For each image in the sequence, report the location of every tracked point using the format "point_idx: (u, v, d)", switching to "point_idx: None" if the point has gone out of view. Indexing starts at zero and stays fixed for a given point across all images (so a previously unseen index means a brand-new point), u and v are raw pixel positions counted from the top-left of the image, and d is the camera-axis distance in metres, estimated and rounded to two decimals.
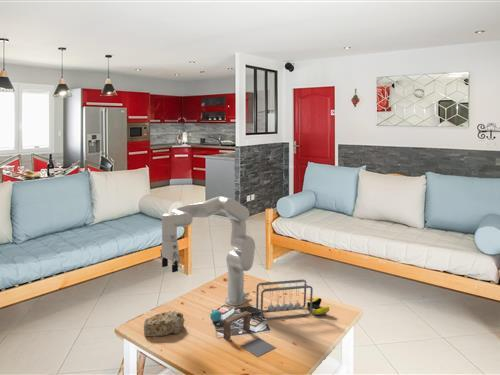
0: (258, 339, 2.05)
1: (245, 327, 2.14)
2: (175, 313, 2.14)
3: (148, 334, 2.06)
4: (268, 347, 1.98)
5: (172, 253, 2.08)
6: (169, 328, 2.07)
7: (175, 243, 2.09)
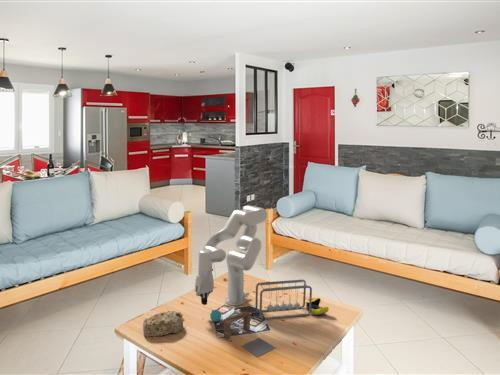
0: (258, 339, 2.05)
1: (245, 327, 2.14)
2: (174, 313, 2.15)
3: (148, 334, 2.06)
4: (268, 347, 1.98)
5: None
6: (169, 328, 2.07)
7: None
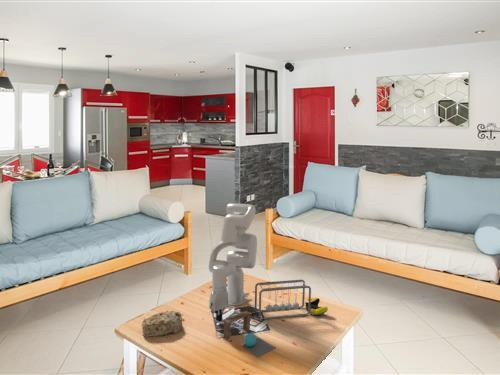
0: (258, 339, 2.05)
1: (245, 327, 2.14)
2: (173, 312, 2.15)
3: (147, 334, 2.06)
4: (268, 347, 1.98)
5: None
6: (168, 327, 2.08)
7: None
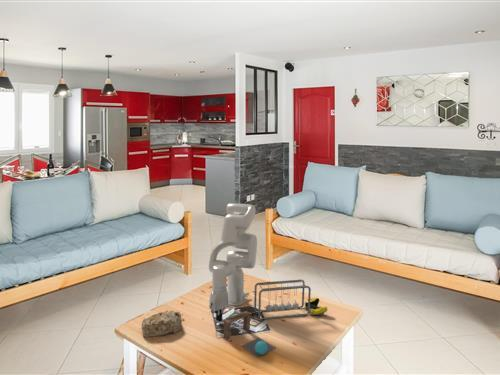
0: (258, 339, 2.05)
1: (245, 327, 2.14)
2: (173, 312, 2.15)
3: (147, 335, 2.06)
4: (268, 347, 1.98)
5: None
6: (168, 327, 2.08)
7: None
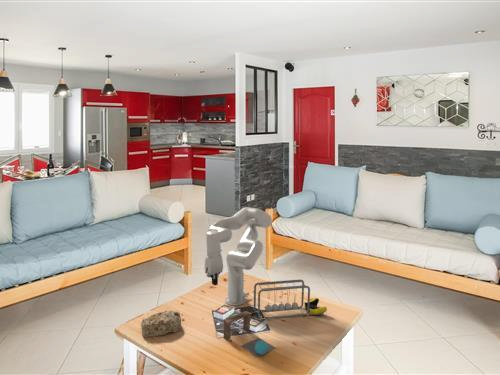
0: (258, 339, 2.05)
1: (245, 327, 2.14)
2: (172, 312, 2.15)
3: (147, 335, 2.06)
4: (268, 347, 1.98)
5: None
6: (168, 327, 2.08)
7: None
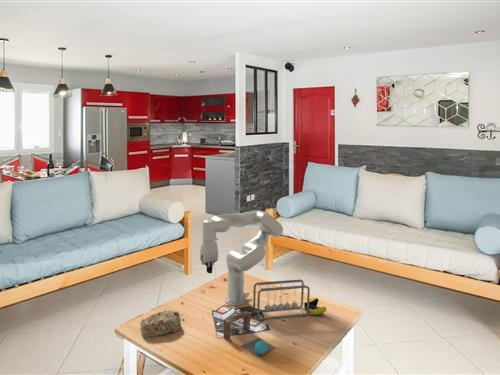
0: (258, 339, 2.05)
1: (245, 327, 2.14)
2: (172, 312, 2.15)
3: (147, 335, 2.06)
4: (268, 347, 1.98)
5: None
6: (168, 327, 2.08)
7: None
